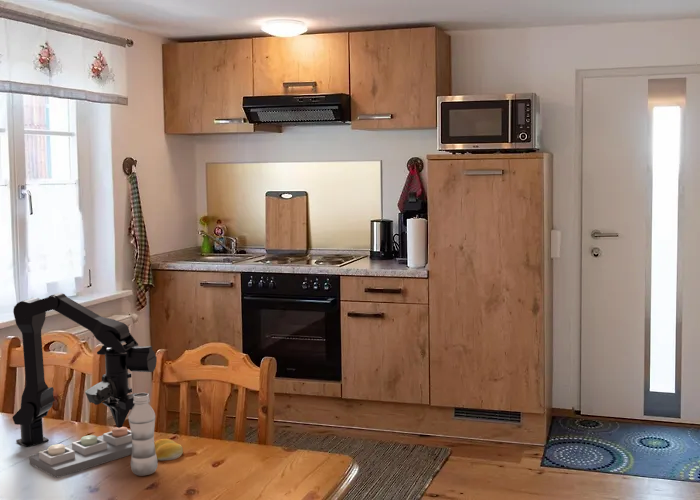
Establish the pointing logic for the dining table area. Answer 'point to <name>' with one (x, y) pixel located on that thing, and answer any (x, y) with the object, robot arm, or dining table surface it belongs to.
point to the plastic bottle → (142, 436)
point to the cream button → (56, 449)
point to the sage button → (88, 440)
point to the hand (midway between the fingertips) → (119, 427)
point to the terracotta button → (119, 432)
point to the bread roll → (167, 449)
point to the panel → (83, 455)
